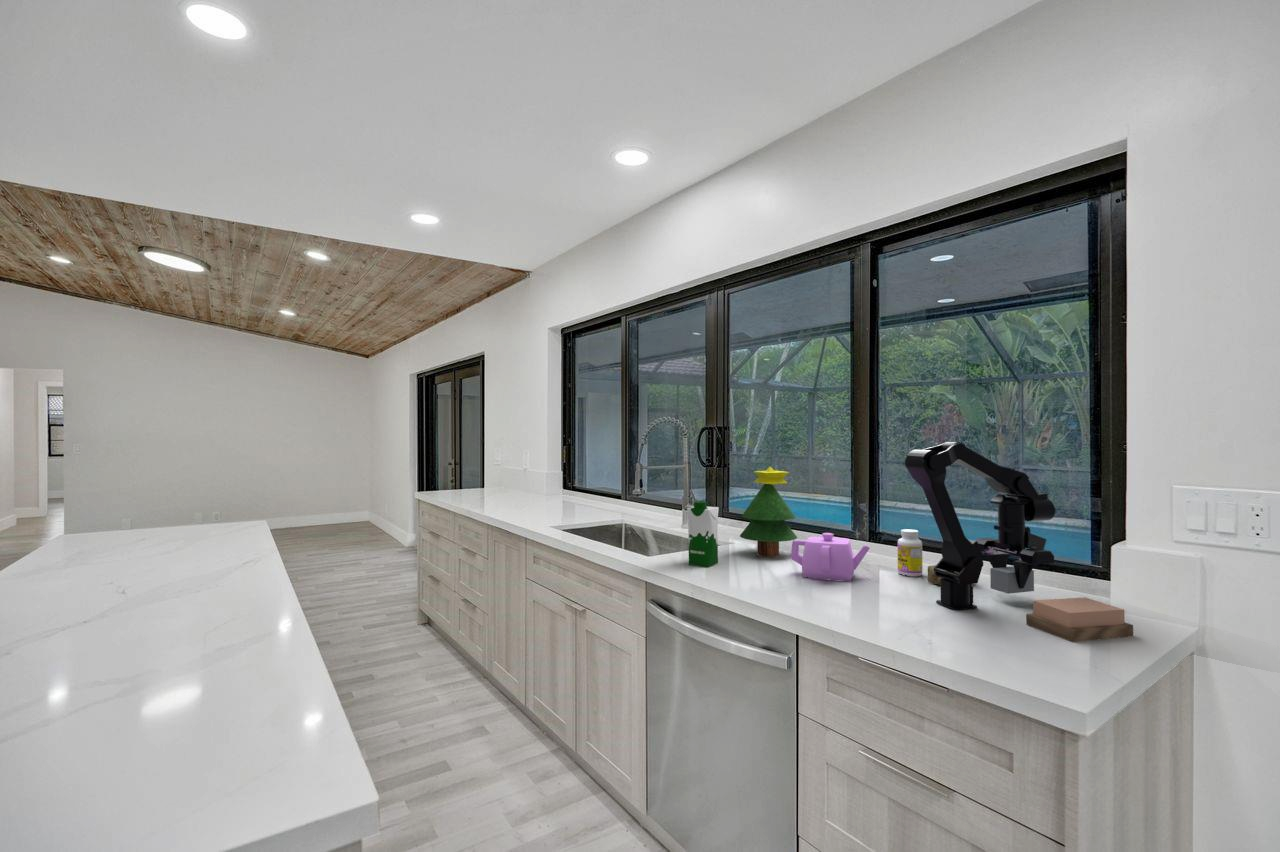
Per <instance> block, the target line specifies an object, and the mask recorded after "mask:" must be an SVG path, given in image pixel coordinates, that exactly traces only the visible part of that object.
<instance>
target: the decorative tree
mask: <svg viewBox="0 0 1280 852" xmlns="http://www.w3.org/2000/svg"><path fill="white" fill-rule="evenodd" d="M753 473H754V474H755V475H756V476H757V478H756V479H754V481H753V483H757V484H763V485H762V486H761V487H760V489H759V491H758V492H757V493H756V495H755V496H754V497H753V499H752V501H751V502H750V503H749V505H748V506H747V508H746V509H745V511H744V512H743V513H742V515H741V517H742V518H744V519H746V520H747V519H748V520H751V521H750V522H749V523H748V524H747V526H746V527H745V528H744V529H743V530H742V532H741V533H740V534H739V537H740V538H741V539H744V540H749V541H755V542H756V541H757V556H761V557H766V558H767V557H768V558H769V557H770V558H771V557H779V556H780V542H789V541H790V542H791V541H793V540H798V536H797V535H796V533H795V532H794V531H793V530H792V529H791V527H790V525H788V523H787V522H786V521H789V520H795V519H796V516H795V514H794V512H793V511H792V509H791V508H790V507H789V506H788V504H787V503H786V501H785V500H784V498H783V497H782V496H781V494H780V493H779V492H778V490H777V488H776V487H775V485H776V484H788V482H787V481H786V480H785V479H784V477H786V476H787V475H788V474H789V473H790V472H789V471H781V470H775V469H774V468H773V467H772V466H769V467H768V468H767V469H766V470H755V471H753Z"/></svg>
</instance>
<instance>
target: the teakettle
mask: <svg viewBox="0 0 1280 852" xmlns="http://www.w3.org/2000/svg"><path fill="white" fill-rule="evenodd" d="M821 534H822V536H809V537H808V538H807V539H795V540H791V541H792V544H791V551H790V552H791V554H790V559H791V560H792V561H794V562H795V563H797V564H799V565H800V566H801V571H802V572H801V573H802V575H803V578H804V577H808V578H807V579H810V578H816V579H815V580H819V579H830V580H844V581H843V582H851V581H852V580H851V579H853V578H854V573H855V571H856V569H857V568H858V566H859V565H860V563H861V562H862V560H863V559H864V557H865V556H866V554H867V553H868V552H869V550H870V549H871V547H870V546H868V545H863V546H862V547H861V548H860V549H859V551H857V552H856V554H854V553H853V547H852V542H851V539H849V538H846V537H834V533H833V532H823V533H821ZM799 546H802V547H803V546H804V548H803V552H802V553H803V554H802V555H801V554H800V553H799V551H800V550H799V548H800V547H799ZM830 580H829V581H830Z"/></svg>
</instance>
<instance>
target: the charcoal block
mask: <svg viewBox="0 0 1280 852" xmlns="http://www.w3.org/2000/svg"><path fill="white" fill-rule="evenodd" d="M989 569H990V575H989V576H990V577H989V578H990V579H989V580H990V589H991V590H994V591H998V592H1001V593H1004V594H1009V595H1010V594H1017V593H1018V594H1019V593H1026V592H1027V593H1028V592H1035V571H1034V570H1033V569H1032V571H1031V572H1030V575H1029V577H1028V579H1027V582H1026V584H1025V586H1024V588H1019V586H1018V583H1017V579H1016V574H1015V570H1014V565H1013V566H1007V567H1000V568H993V567H991V568H989Z"/></svg>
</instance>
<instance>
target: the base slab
mask: <svg viewBox="0 0 1280 852" xmlns="http://www.w3.org/2000/svg"><path fill="white" fill-rule="evenodd" d="M1025 625H1026V626H1029V627H1032V628H1034V629H1037V630H1040V631H1042V632H1045V633H1047V634H1050V635H1052V636H1056V637H1058V638H1060V639H1063V640H1066V641H1068V642H1072V643H1078V642H1079V643H1080V642H1087V641H1088V642H1089V641H1098V639H1100V640H1107V639H1108V638H1110V639H1118V638H1117V637H1120V638H1127V637H1128V636H1130V637H1134V624H1132V623H1128V622H1125V624H1119V625H1105V626H1090V627H1076V628H1068V627H1066V626H1063V625H1061V624H1058V623H1055V622H1053V621H1050V620H1047V619H1045V618H1042V617H1039V616H1037V615H1034V614H1033V613H1026V614H1025ZM1128 638H1129V637H1128Z"/></svg>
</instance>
